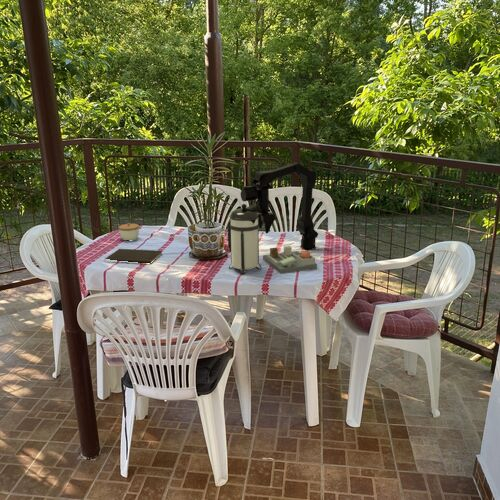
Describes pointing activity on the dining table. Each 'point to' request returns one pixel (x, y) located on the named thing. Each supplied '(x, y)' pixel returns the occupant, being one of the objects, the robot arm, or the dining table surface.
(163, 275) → the dining table surface
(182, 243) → the dining table surface
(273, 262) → the panel
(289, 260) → the green rocker
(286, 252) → the offwhite knob
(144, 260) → the hardcover book
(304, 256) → the red button
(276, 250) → the walnut knob
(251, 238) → the coffee press
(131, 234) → the lidded jar
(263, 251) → the dining table surface
